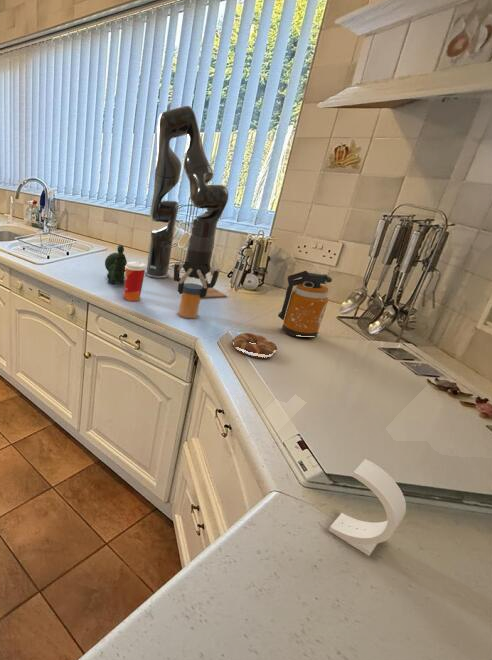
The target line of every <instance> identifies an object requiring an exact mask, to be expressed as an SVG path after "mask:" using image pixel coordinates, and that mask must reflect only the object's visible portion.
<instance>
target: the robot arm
mask: <svg viewBox="0 0 492 660" xmlns="http://www.w3.org/2000/svg"><path fill="white" fill-rule="evenodd" d="M183 136H186V137H187V139H188V143H187V147H186V150H185V153H184V156H183V162H182V161H181V160H180V158H179V157H178V155H177V153H175V152H174V151H173V149H172V147H171V145H170V142H171V140H173V139H176V138H179V137H183ZM203 145H204V144H203V141H202V135H201V132H200V128H199V124H198V120H197V117H196V113H195V111H194V109H193V108H192V107H191V106H189V105H182V106H180V107H179V106H178V107H176V108H172V109H168V110H166V111H165V110H164V111H163V112H162V113H160V115H159V117H158V121H157V151H156V153H157V155H156V162H155V169H154V180H153V194H152V199H151V205H150V212H149V218H150V220H151V222H153V223H163V224H165V226H163V227H160V228H157V229H154V230H152V231H151V232H150V239H149V246H148V247H149V248H148V255H147V260H146V261H147V262H146V269H145V276H146V277H150V278H154V279H164V278H168V275H169V267H170V261H171V254H172V248H173V241H174V234H175V228H176V222H177V218H178V213H179V203H178V201H176V200H163V198H164V197H165V196H166V195H167V194H168V193H170V192H171V191H172V190H173V189H174V188H175V187H176V186H177V185H178V183H179V181H180V179H181V173H182V166H183V169H184V172H185V174H186V177H187V179H188V181H189V197H190V202H191V204H192V205H193V207H195V208H196V209H206V210H205V211H204V212H203V213H202V214H200V215H197V216H196V215H195V217H194V218H193V220H192V224H191V230H190V235H189V238H188V243H187V248H186V254H185V259H184V263H180V262H177V263H175V264H174V266H173V281H174V282H177V283H178V286H177V292H178V295H182V288H183V284H185V281H186V280H187V279H188V278H191V279H193V278H194V279H196V280H199V281H200V283H201V286H203V288H202V292H201V297H200V298H201V299H205V298H204V297H205V296H206V295H207V290H208V288H214V286H216V285H217V284H216V283H217V281H218V278H219V274H220V269H219V268H217V269H215V268H212V267H211V261H212V257H213V251H214V249H215V248H214V247H215V237H216V232H217V226H218V222H219V220H220V219H221V216H222V215H223V213H224V210H225V209H226V206H227V204H228V201H229V190H228V187H226V186H225V185H223V184H208V183H209V182H211V181H212V179H213V177H214V171H213V169H212V167H211V164H210V162H209V160H208V158H207V155H206V153H205V149H204V146H203ZM182 164H183V165H182ZM182 269H183V270H184V272H185V273H184V274H183V276H182V277H180V275H181V270H182ZM209 273H210V276H211V280H210V282H209V281H208V277H207V274H209Z"/></svg>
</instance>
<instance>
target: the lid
mask: <svg viewBox="0 0 492 660" xmlns="http://www.w3.org/2000/svg"><path fill="white" fill-rule="evenodd" d="M202 288H203V285H202V284H199V283H193V282H187V283H185V282H184V284H183V288H182V291H183V292H186V293H189V294H201V292H202Z"/></svg>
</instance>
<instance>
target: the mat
mask: <svg viewBox="0 0 492 660" xmlns="http://www.w3.org/2000/svg"><path fill="white" fill-rule="evenodd" d="M213 298H214V299H215V298H227V295H226V294H224V293H222V292H221V291H220V290H217V289H216V288H214V287H213V288H208V290H207V295H206V296H205V297H204V298H203V299H213Z"/></svg>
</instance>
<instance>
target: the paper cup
mask: <svg viewBox="0 0 492 660" xmlns="http://www.w3.org/2000/svg"><path fill="white" fill-rule="evenodd" d="M146 269H147V266H146V263H144V262H138V261H128V262H127V264H126V266H125V270H126V271H125V272H124V281H125V283H124V292H123V293H124V295H123V296H124V297H123V298H124V300H125V301H129V302H138V301H140V299H141V298H140V297H141V293H142V287H143V282H144V277H145V274H146Z"/></svg>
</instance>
